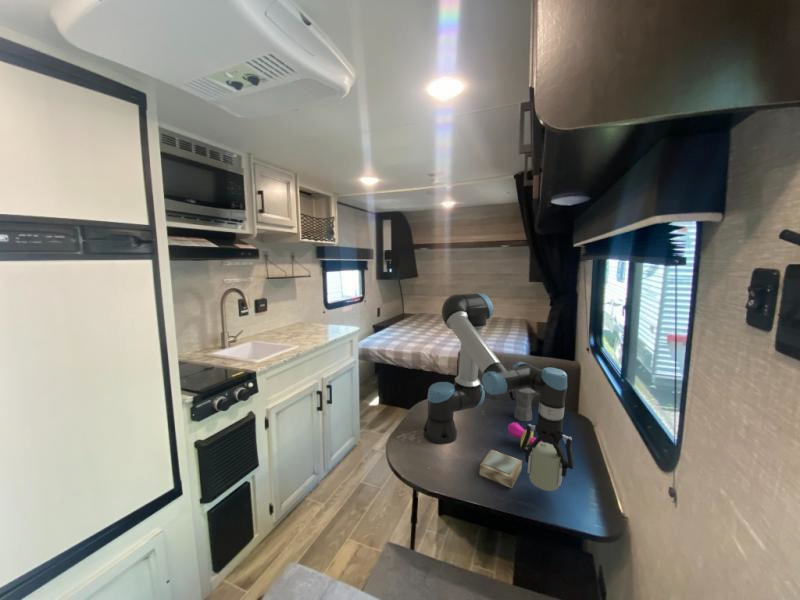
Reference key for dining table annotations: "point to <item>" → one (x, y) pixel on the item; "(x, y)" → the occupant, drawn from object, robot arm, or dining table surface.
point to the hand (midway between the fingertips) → (544, 477)
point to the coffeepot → (524, 404)
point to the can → (545, 467)
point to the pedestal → (501, 468)
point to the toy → (520, 432)
